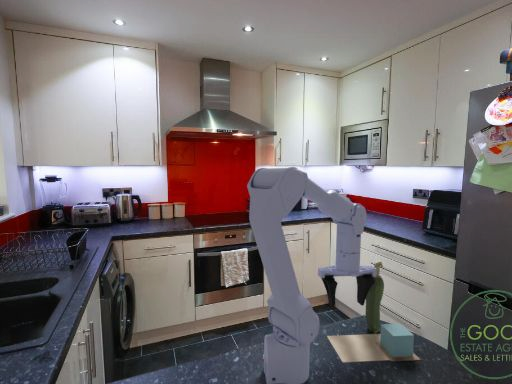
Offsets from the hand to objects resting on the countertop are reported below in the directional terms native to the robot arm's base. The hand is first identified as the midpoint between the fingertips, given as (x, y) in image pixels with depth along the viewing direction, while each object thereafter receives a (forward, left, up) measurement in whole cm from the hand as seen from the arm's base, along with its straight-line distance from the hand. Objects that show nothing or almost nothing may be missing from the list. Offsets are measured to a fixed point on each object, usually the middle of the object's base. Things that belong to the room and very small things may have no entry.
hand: (346, 304), depth 67 cm
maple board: (+5, -3, -10) cm, 12 cm away
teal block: (+11, -5, -9) cm, 15 cm away
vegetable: (+10, +4, -11) cm, 15 cm away
